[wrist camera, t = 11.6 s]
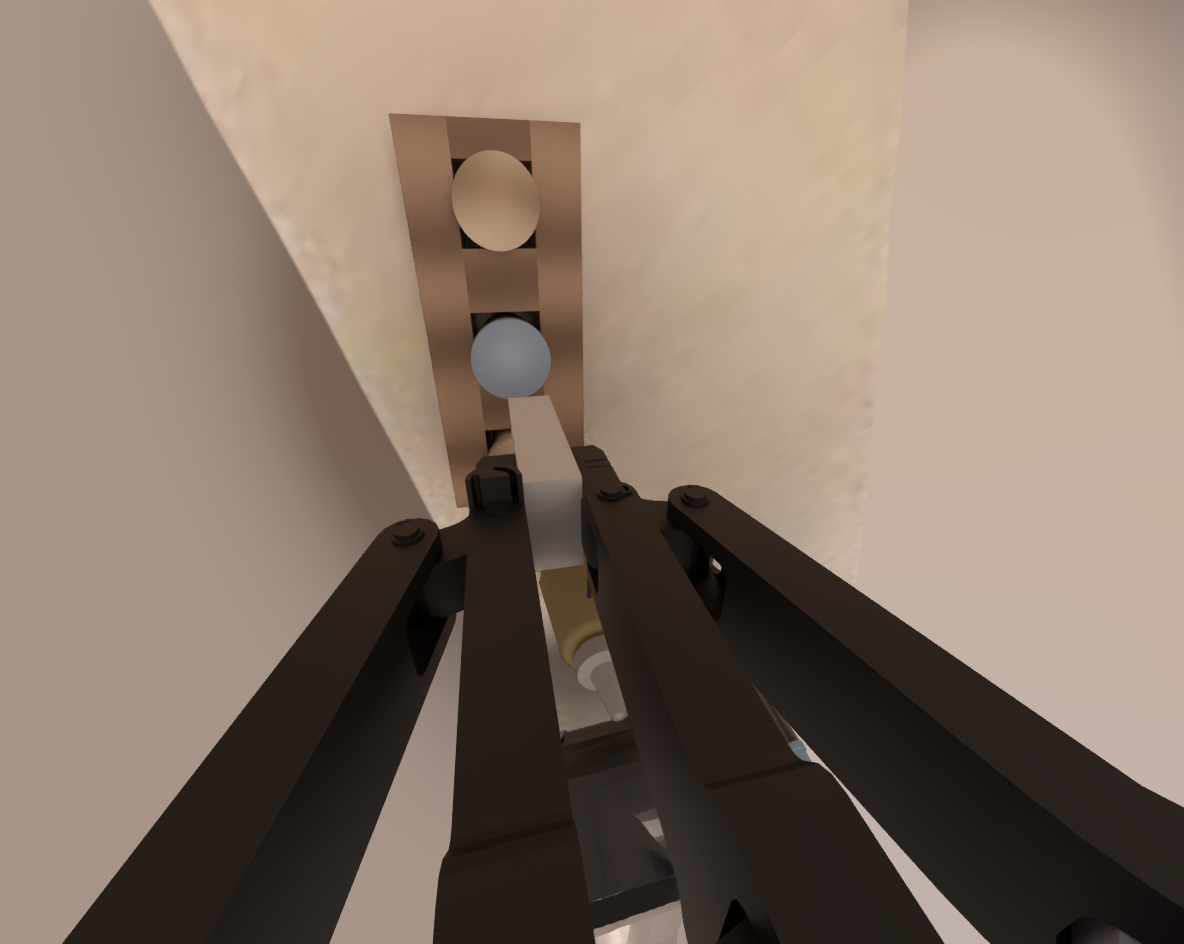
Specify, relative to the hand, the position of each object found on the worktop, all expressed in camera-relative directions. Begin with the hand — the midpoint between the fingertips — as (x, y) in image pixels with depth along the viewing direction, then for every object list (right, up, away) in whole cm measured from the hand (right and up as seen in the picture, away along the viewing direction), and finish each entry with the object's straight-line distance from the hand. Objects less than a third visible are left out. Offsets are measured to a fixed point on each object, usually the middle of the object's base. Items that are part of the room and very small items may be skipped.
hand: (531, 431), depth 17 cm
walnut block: (-5, +9, +17) cm, 20 cm away
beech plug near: (-4, +16, +13) cm, 21 cm away
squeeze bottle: (0, -10, +29) cm, 31 cm away
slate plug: (-4, +8, +15) cm, 17 cm away
